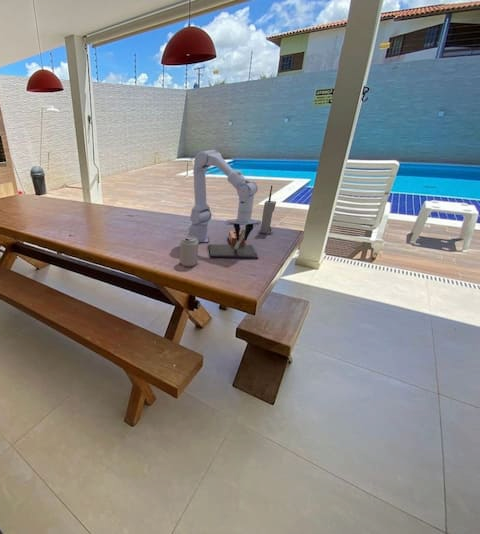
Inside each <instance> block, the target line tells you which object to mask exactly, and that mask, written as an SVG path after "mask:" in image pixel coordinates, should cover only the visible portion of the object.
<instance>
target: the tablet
mask: <svg viewBox="0 0 480 534" xmlns="http://www.w3.org/2000/svg"><path fill="white" fill-rule="evenodd" d="M234 247H235V245H231V244H212V243H211V244H210V243H209V244H208V250H209V255H210V258H211V259H246V260H247V259H248V260H249V259H250V260H251V259H252V260H258V258H259V257H258V254H257V253H256V251H255V249H254V247H253V244H245V245H239V247H238V249H236V250H235V248H234Z"/></svg>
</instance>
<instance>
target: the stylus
mask: <svg viewBox="0 0 480 534" xmlns="http://www.w3.org/2000/svg"><path fill="white" fill-rule="evenodd" d="M241 231H242V232H241V234H240V236H239V241H237V243H236V245H235V247H234V248H235V250H236V249H238V247H239V245H240V243H241V241H242V239H243V237H244V236H245V232H246V231H245V229H242V230H241Z"/></svg>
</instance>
